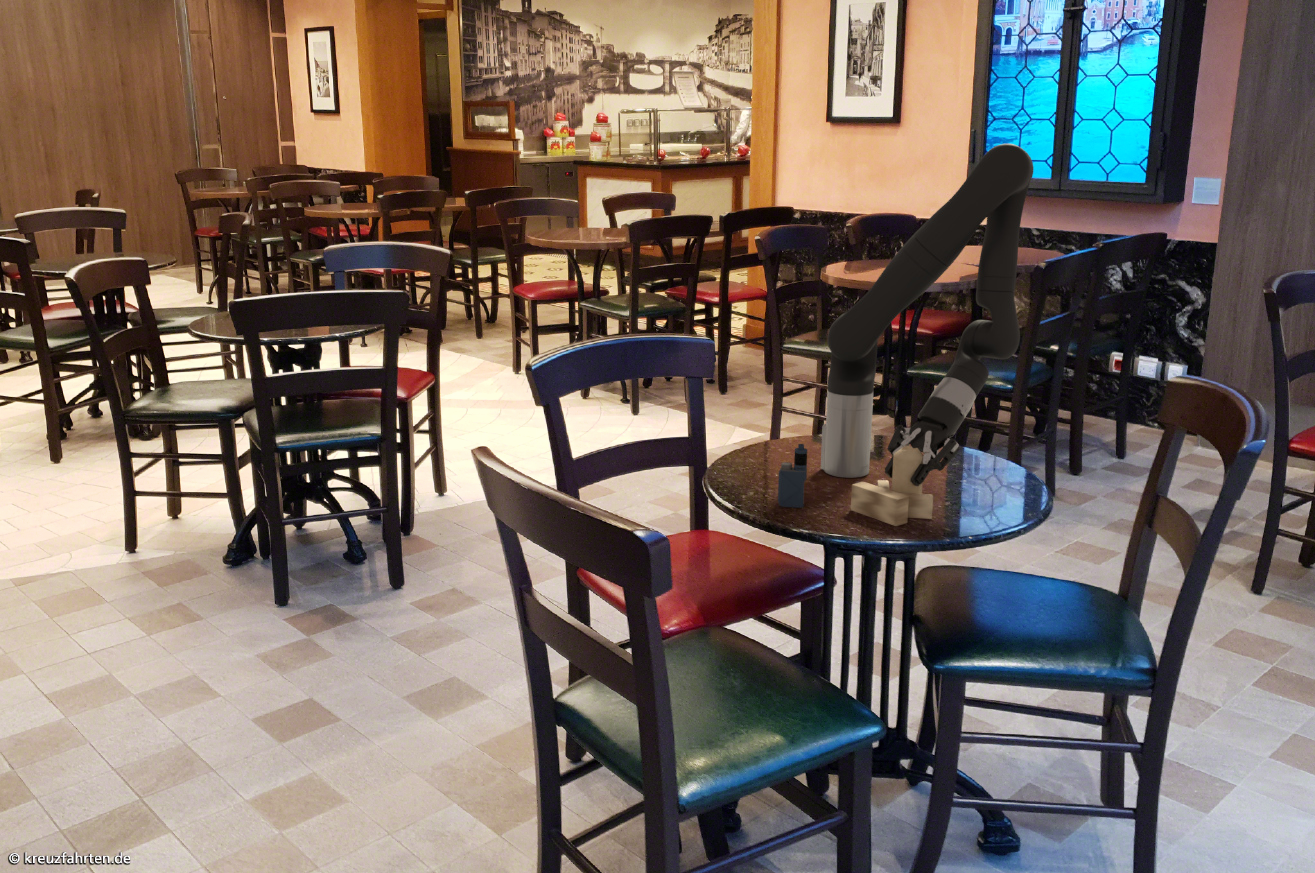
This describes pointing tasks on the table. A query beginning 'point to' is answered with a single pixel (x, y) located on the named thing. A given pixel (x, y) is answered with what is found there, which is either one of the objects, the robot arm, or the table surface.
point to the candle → (906, 470)
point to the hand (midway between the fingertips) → (901, 479)
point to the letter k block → (889, 503)
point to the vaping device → (793, 480)
